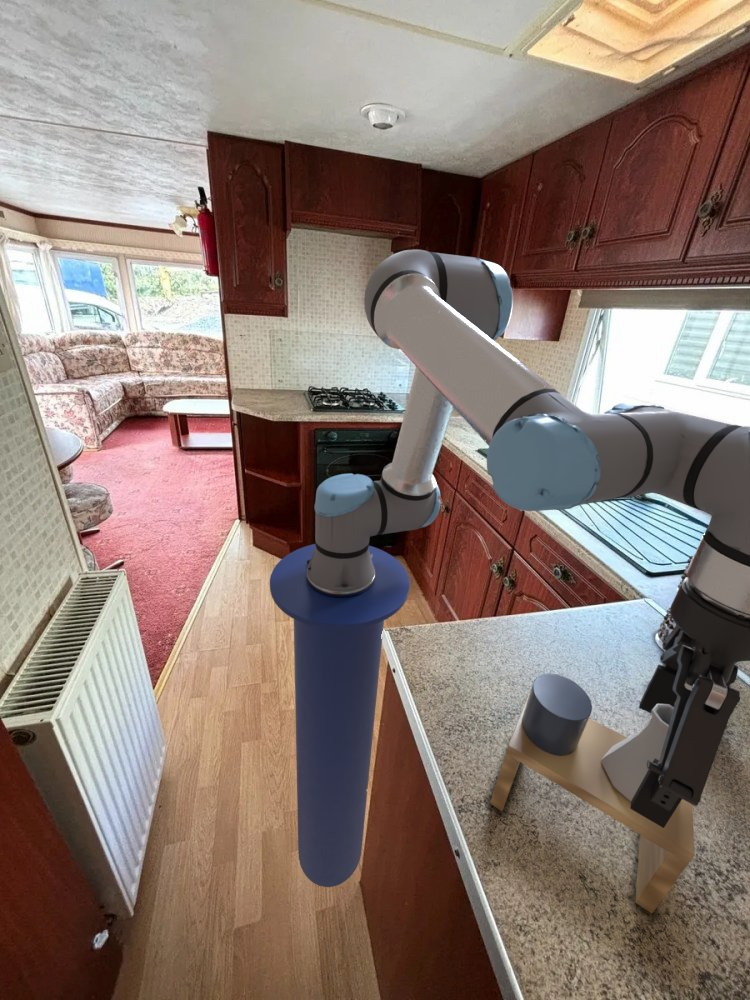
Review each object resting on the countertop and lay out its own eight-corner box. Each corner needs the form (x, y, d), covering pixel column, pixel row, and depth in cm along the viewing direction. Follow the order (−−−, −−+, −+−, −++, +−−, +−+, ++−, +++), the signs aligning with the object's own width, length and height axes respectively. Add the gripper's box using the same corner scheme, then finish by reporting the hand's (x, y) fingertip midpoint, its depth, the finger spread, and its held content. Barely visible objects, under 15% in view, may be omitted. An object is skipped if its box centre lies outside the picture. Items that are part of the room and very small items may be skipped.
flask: (634, 740, 49) (664, 680, 45) (693, 803, 43) (734, 741, 38) (587, 756, 47) (614, 694, 42) (642, 825, 40) (680, 761, 36)
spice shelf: (490, 803, 52) (508, 745, 47) (513, 743, 60) (531, 688, 55) (652, 914, 43) (694, 855, 38) (655, 827, 51) (691, 769, 46)
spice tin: (515, 734, 48) (526, 699, 46) (529, 698, 53) (540, 664, 51) (572, 767, 45) (587, 731, 43) (581, 725, 50) (596, 691, 48)
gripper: (847, 730, 23) (698, 911, 32) (767, 551, 42) (688, 696, 51) (688, 665, 27) (594, 844, 35) (681, 528, 46) (621, 666, 54)
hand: (649, 757), depth 43 cm, fingers open, 13 cm apart
